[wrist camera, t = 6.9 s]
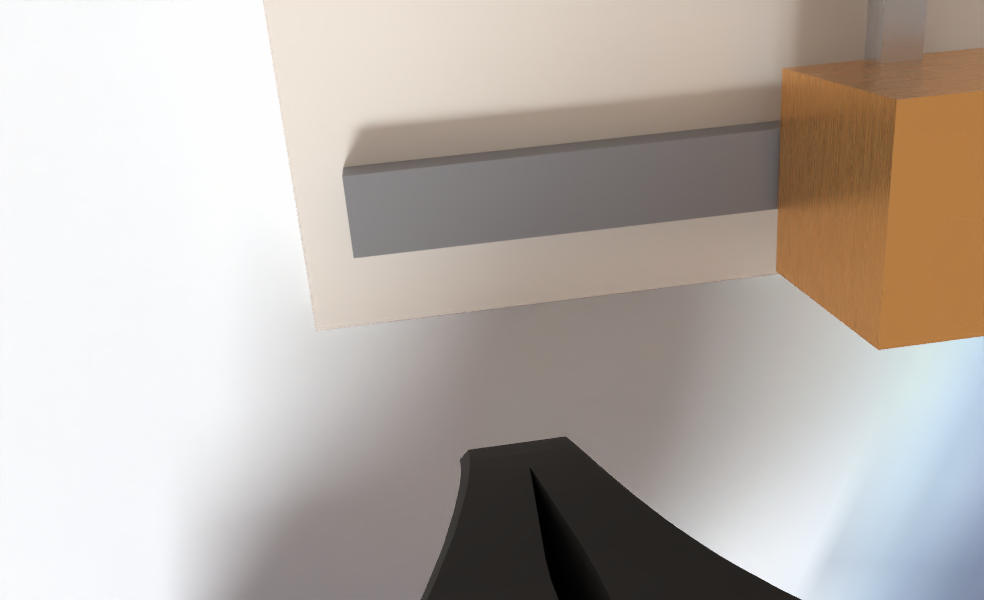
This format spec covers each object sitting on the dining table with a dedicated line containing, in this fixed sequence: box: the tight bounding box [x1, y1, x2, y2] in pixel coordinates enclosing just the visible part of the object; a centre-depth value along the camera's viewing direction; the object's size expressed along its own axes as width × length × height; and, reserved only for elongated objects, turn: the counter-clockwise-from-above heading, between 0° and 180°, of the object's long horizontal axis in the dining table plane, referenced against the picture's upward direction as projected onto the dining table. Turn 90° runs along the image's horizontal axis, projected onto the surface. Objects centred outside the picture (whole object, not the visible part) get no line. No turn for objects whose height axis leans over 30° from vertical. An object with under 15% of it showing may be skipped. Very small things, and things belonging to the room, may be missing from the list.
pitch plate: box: [263, 0, 984, 331], centre depth 17 cm, size 22×9×6 cm, turn 94°
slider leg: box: [776, 0, 984, 350], centre depth 16 cm, size 4×7×5 cm, turn 4°
